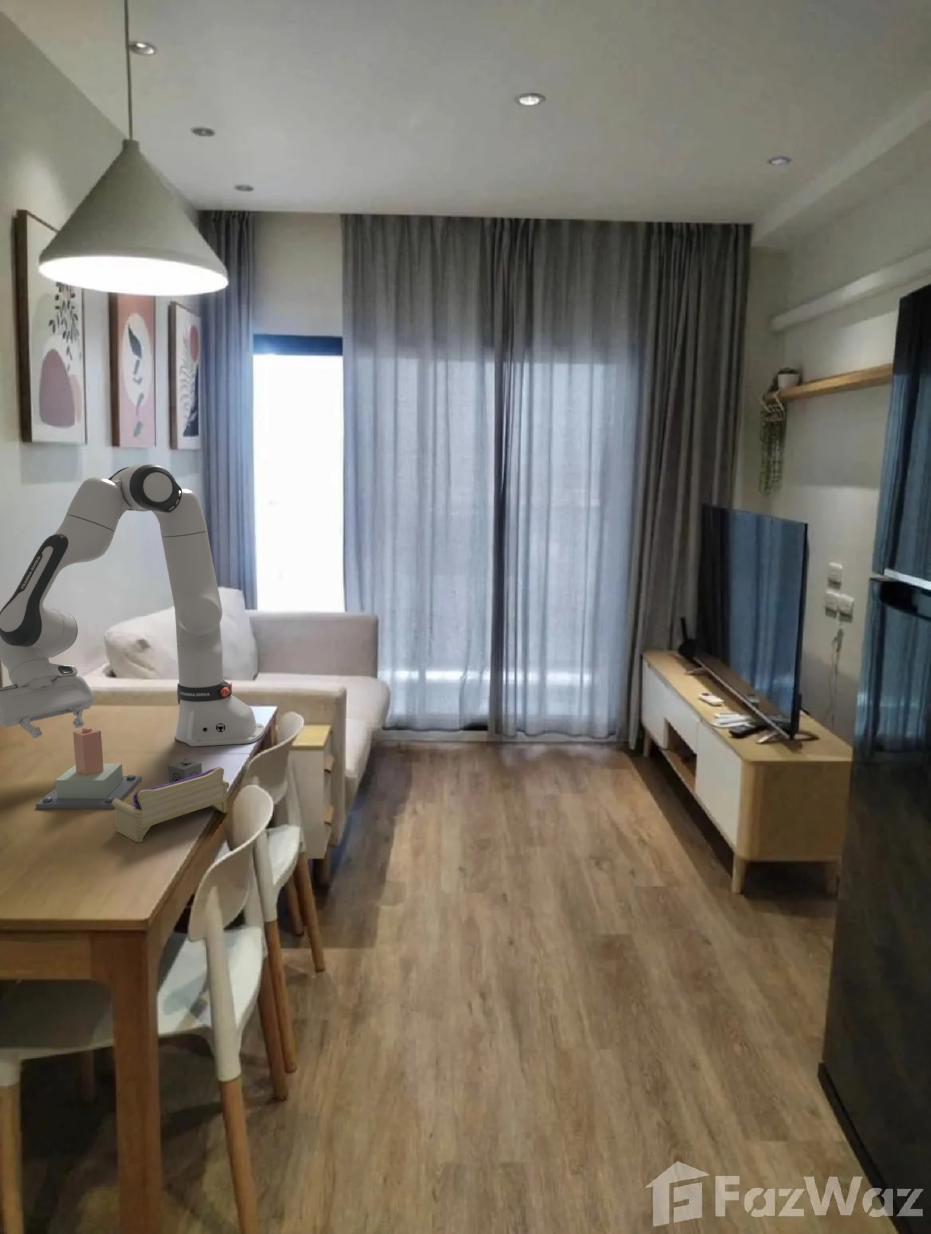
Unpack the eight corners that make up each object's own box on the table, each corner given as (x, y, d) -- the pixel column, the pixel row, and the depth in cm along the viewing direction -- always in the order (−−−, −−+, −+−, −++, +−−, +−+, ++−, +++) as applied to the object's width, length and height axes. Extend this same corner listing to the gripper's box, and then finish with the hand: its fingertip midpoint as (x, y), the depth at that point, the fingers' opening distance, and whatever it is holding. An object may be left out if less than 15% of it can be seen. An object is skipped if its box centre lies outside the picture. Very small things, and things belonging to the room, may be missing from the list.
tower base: (141, 780, 193) (140, 759, 192) (114, 808, 177) (113, 785, 176) (69, 780, 192) (68, 758, 191) (36, 808, 177) (34, 785, 176)
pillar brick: (94, 767, 186) (91, 724, 185) (103, 771, 184) (100, 728, 182) (76, 772, 183) (72, 728, 182) (85, 776, 181) (82, 732, 179)
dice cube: (185, 791, 187) (184, 769, 186) (169, 787, 189) (167, 765, 188) (202, 784, 191) (201, 762, 190) (186, 779, 193) (185, 758, 193)
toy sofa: (206, 801, 182) (204, 755, 180) (231, 812, 177) (229, 764, 175) (112, 833, 166) (109, 782, 164) (136, 846, 161) (133, 794, 159)
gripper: (-10, 682, 184) (14, 735, 180) (82, 665, 200) (107, 713, 196) (-17, 698, 188) (7, 750, 184) (74, 680, 204) (98, 728, 200)
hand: (59, 731), depth 190 cm, fingers open, 8 cm apart
